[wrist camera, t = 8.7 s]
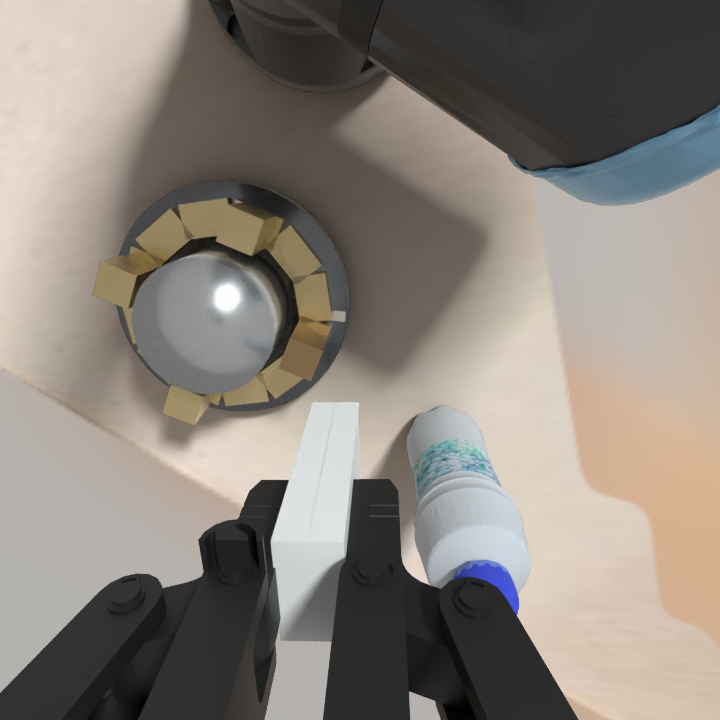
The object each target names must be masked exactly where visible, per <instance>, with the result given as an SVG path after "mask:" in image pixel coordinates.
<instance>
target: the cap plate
mask: <svg viewBox="0 0 720 720" xmlns="http://www.w3.org/2000/svg"><path fill="white" fill-rule="evenodd" d="M223 198H232V202H233V204H234V203H235V200H236V199H242V200H244V201H246V202H249V203H251V204H253V205H256V206H258V207H260V208H263V209H265V210H267V211H270V212H272V213H274V214H277V215H279V216H282V217H284V218H286V220H285V223H284V226H283V229H282V232H283V231H284V230H285V229H286V228H287V227H289V226H290V225H292V224H294V226H295V227H296V228H297V230H298V231H299V232H300V233H301V235H302V236H303V237H304V239H305V240H306V241H307V242H308V244H309V245H310V246H311V248H312V249H313V250H314V251H315V253H316V254H317V255H318V257H319V258H320V259H321V260H322V262H323V264H322V265H321V266H320V267H319V268H318V269H316V270H315V271H314V272H318V271H326V270H327V276H328V283H329V289H330V296H331V303H332V309H333V319H332V320H328V322H330V323H332V327H331V330H330V332H329V335H328V338H327V341H326V344H325V348H324V351H323V353H322V356H321V358H320V361H319V363H318V365H317V368H316V370H315V373H314V375H313V377H312V380H311V381H309V380H306V379H302V380H301V381H300V382H298V383H297V384H296V385H294V386H293V387H291V388H290V389H289V390H287V391H286V392H284V393H283V394H282V395H280V396H279V397H278V398H276V399H275V398H274V396H273V395H272V396H271V398H270V400H269V402H259V403H250V404H241V405H232V406H225V402H224V397H223V399H222V400H221V402H220V403H219V404H218V405H216V404H214V403H211V404H210V405H209V407H213V408H216V409H223V410H229V411H255V410H262V409H267V408H272V407H275V406H278V405H280V404H283V403H286V402H288V401H290V400H292V399H294V398H296V397H298V396H299V395H301V394H302V393H304V392H305V391H307V390H308V389H310V388H311V387H312V386H313V385H314V384H315V383H316V382H317V381H319V380H320V378H321V377H322V376H323V375H324V374H325V373H326V371H327V370H328V369H329V367H330V366H331V364H332V363H333V361H334V359H335V358H336V356H337V354H338V351H339V349H340V347H341V345H342V342H343V338H344V335H345V332H346V327H347V322H348V315H349V301H350V295H349V286H348V279H347V275H346V271H345V267H344V264H343V262H342V259H341V257H340V254H339V252H338V250H337V248H336V246H335V244H334V243H333V241H332V239H331V238H330V236H329V235H328V233H327V232H326V231H325V229H324V228H323V226H322V225H321V224H320V223H319V222H318V221H317V220H316V219H315V218H314V217H313V216H312V215H311V214H310V213H309V212H308V211H307V210H305V209H304V208H303V207H302V206H301V205H299V204H298V203H296V202H295V201H293V200H292V199H290V198H288V197H287V196H285V195H283V194H281V193H279V192H277V191H274V190H272V189H270V188H266V187H263V186H260V185H257V184H252V183H246V182H240V181H210V182H201V183H197V184H193V185H189V186H185V187H183V188H180V189H178V190H176V191H173V192H171V193H169V194H167V195H166V196H164V197H163V198H161V199H159V200H158V201H156V202H155V203H154V204H153V205H152V206H150V207H149V208H148V209H147V210H146V211H145V212H144V213H143V214H142V215H141V216H140V217H139V219H138V220H137V221H136V222H135V224H134V225H133V227H132V228H131V230H130V231H129V233H128V235H127V237H126V239H125V241H124V243H123V246H122V248H121V251H120V254H119V256H122V255H125V254H129V253H130V249H131V246H134V245H138V244H139V243H138V242H137V241H136V240H135V239H136V238H137V237H139V236H140V235H141V234H142V233H143V232H144V231H145V230H146V229H148V228H149V227H150V226H151V225H152V224H153V223H154V222H155V221H157V220H158V219H159V218H160V217H161V216H162V215H163V214H164V213H166V212H167V211H168V210H169V209H170V208H178V210H179V207H178V205H180V204H187V203H194V202H202V201H209V200H216V199H223ZM216 239H217V236H212V237H204V238H197V239H194V240H193V241H192V242H191V243H190V244H188V245H187V246H186V247H185V248H184V249H183V250H181V251H180V252H179V253H178V254H177V255H176V256H174V257H173V258H172V259H171V260H170V261H169V262H168V264H166V265H164V266H162V267H160V268H159V269H157V270H156V271H154V272H153V273H152V274H151V275H150V276H149V277H148V278H147V279H146V280H145V281H144V283H143V284H142V285H141V287H140V288H139V291H138V293H137V295H136V297H135V300H134V304H133V309H132V329H133V334H134V338H135V341H136V343H134V344H133V342H132V339H131V335H130V332H129V328H128V325H127V321H126V318H125V314H124V311H123V308H122V307H121V306H118V305H117V310H118V314H119V318H120V321H121V324H122V327H123V329H124V332H125V334H126V337H127V339H128V340H129V342H130V344H131V346H132V348H133V350H134V351H135V352H136V354H137V355H138V357H139V358H140V359H141V361H142V362H143V363H144V365H145V366H146V367H147V368H148V369H149V370H150V371H151V372H152V373H153V374H154V375H155V376H156V377H157V378H158V379H159V380H160V381H162V382H163V383H164V384H165V385H167V386H168V387H170V386H171V384H172V385H174V386H176V387H178V388H181V389H183V390H186V391H189V392H193V393H198V394H209V395H212V394H222V393H227V392H230V391H233V390H236V389H238V388H240V387H242V386H244V385H245V384H247V383H248V382H250V381H251V380H252V379H253V378H254V377H255V376H256V375H257V374H258V373H259V372H260V370H261V369H262V368H263V367H265V366H266V365H267V364H269V363H270V362H271V361H273V360H274V359H275V358H277V357H278V356H279V355H281V354H282V353H283V352H285V350H286V347H287V344H288V342H289V339H290V337H291V335H292V333H293V331H294V330H295V328H296V326H297V324H298V322H299V320H300V318H299V312H298V307H297V301H296V295H295V289H294V284H293V281H292V280H291V278H290V277H289V276H288V275H287V273H286V272H285V271H284V270H283V268H282V267H281V266H280V265H279V264H278V262H277V261H276V260H275V259H274V257H273V256H272V255H271V254H270V252H269V251H268V250H266V249H263V250H262V251H260V252H258V253H256V254H255V255H253V256H250V255H247V254H245V253H243V252H240V251H238V250H235V249H233V248H231V247H228V246H226V245H223V244H221V243H219V242H216ZM139 245H140V244H139ZM138 349H139V351H140V352H141V354H142V355H141V354H140V353H139V352H138V351H137V350H138ZM165 380H166V381H167V382H169V383H170V384H168V383H167V382H166V381H165Z"/></svg>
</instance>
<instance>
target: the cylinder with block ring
mask: <svg viewBox="0 0 720 720" xmlns="http://www.w3.org/2000/svg"><path fill="white" fill-rule="evenodd" d="M178 207H179V210H178V208H170V209H169V210H168V211H167V212H166V213H164V214H163V215H162V216H161V217H160V218H159V219H158V220H157V221H155V222H154V223H153V224H152V225H151V226H150V227H149V228H148V229H146V230H145V231H144V232H143V233H142V234H141V235H140V236H139V237H137V238H136V239H135V240H136V241H137V242H138V243H139V244H140V245H139V244H138V245H134V246H131V249H130V253H129V254H125V255H122V256H118V257H115V258H111V259H107V260H104V261H101V262H100V266H99V270H98V274H97V279H96V283H95V287H94V291H93V296H95V297H98V298H101V299H103V300H106V301H108V302H111V303H113V304H116V305H118V306H121V307H122V308H123V311H124V314H125V318H126V321H127V325H128V328H129V332H130V335H131V339H132V342H133V344H134V343H136V341H135V338H134V334H133V329H132V309H133V304H134V300H135V297H136V295H137V293H138V291H139V288H140V287H141V285H142V284H143V283H144V281H145V280H146V279H147V278H148V277H149V276H150V275H151V274H152V273H153V272H154V271H156V270H157V269H159V268H160V267H162V266H164V265H166V264H168V262H169V261H170V260H171V259H172V258H173V257H174V256H176V255H177V254H178V253H179V252H180V251H181V250H183V249H184V248H185V247H186V246H187V245H188V244H190V243H191V242H192V241H193V240H194V239H197V238H204V237H212V236H217V239H216V242H219V243H221V244H223V245H226V246H228V247H231V248H233V249H235V250H238V251H240V252H243V253H245V254H247V255H250V256H253V255H255V254H256V253H258V252H260V251H262V250H263V249H266V250H268V251H269V252H270V254H271V255H272V256H273V257H274V259H275V260H276V261H277V262H278V264H279V265H280V266H281V267H282V268H283V270H284V271H285V272H286V273H287V275H288V276H289V277H290V278H291V280H292V281H293V284H294V289H295V295H296V301H297V307H298V312H299V318H300V320H299V322H298V324H297V326H296V328H295V330H294V331H293V333H292V335H291V337H290V339H289V342H288V344H287V347H286V350H285V352H283V353H282V354H281V355H279V356H278V357H277V358H275V359H274V360H273V361H271V362H270V363H269V364H267V365H266V366H265V367H263V368H262V369H261V370H260V372H259V373H258V374H257V375H256V376H255V377H254V378H253V379H252V380H251V381H250V382H248V383H247V384H245V385H244V386H242V387H240V388H238V389H236V390H233V391H230V392H227V393H222V394H212V395H209V394H198V393H193V392H189V391H186V390H183V389H181V388H178V387H176V386H174V385H172V384H171V386H170V389H169V393H168V396H167V399H166V402H165V405H164V409H163V412H162V414H165V415H167V416H170V417H173V418H175V419H178V420H181V421H183V422H186V423H189V424H191V425H195V424H196V422H197V421H198V420H199V418H200V417H201V416H202V415H203V413H204V412H205V411H206V409H207V408H208V407H209V405H210V404H211V403H214V404H216V405H218V404H219V403H220V402H221V400H222V399H223V397H224V402H225V406H232V405H241V404H250V403H259V402H269V400H270V398H271V396H272V395H273V396H274V398H275V399H276V398H278V397H279V396H280V395H282V394H283V393H284V392H286V391H287V390H289V389H290V388H291V387H293V386H294V385H296V384H297V383H298V382H300V381H301V380H302V379H306V380H309V381H311V380H312V377H313V375H314V373H315V370H316V368H317V365H318V363H319V361H320V358H321V356H322V353H323V351H324V348H325V344H326V341H327V338H328V335H329V332H330V330H331V327H332V323H330V322H328V320H332V319H333V309H332V303H331V296H330V289H329V283H328V276H327V270H326V271H318V272H314V271H315V270H316V269H318V268H319V267H320V266H321V265H322V264H323V262H322V260H321V259H320V258H319V257H318V255H317V254H316V253H315V251H314V250H313V249H312V248H311V246H310V245H309V244H308V242H307V241H306V240H305V239H304V237H303V236H302V235H301V233H300V232H299V231H298V230H297V228H296V227H295V226H294V224H292V225H290V226H289V227H287V228H286V229H285V230H284V231H283V232H282V229H283V226H284V223H285V220H286V218H284V217H282V216H279V215H277V214H274V213H272V212H270V211H267V210H265V209H263V208H260V207H258V206H256V205H253V204H251V203H249V202H246V201H244V200H242V199H236V200H235V203H234V204H233V202H232V198H223V199H216V200H209V201H202V202H194V203H187V204H180V205H178ZM137 351H138V352H139V353H140V354H141V352H140V351H139V349H138V350H137ZM141 355H142V354H141ZM165 381H166V380H165ZM166 382H167V381H166ZM167 383H168V384H170V383H169V382H167Z"/></svg>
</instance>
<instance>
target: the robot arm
mask: <svg viewBox="0 0 720 720" xmlns="http://www.w3.org/2000/svg"><path fill="white" fill-rule="evenodd" d="M208 3H209V5H210V8H211V10H212V12H213V14H214V16H215V18H216V20H217V21H218V23H219V25H220V27H221V28H222V30H223V31H224V33H225V34H226V36H227V37H228V38H229V40H230V41H231V42H232V43H233V45H234V46H235V47H236V48H237V49H238V50H239V51H240V52H241V53H242V54H243V55H244V56H245V57H246V58H247V59H248V60H249V61H250V62H251V63H252V64H253V65H254V66H255V67H256V68H258V69H259V70H260V71H262V72H263V73H264V74H266V75H267V76H269V77H271V78H272V79H274V80H276V81H278V82H280V83H282V84H284V85H287V86H289V87H292V88H296V89H299V90H304V91H310V92H335V91H341V90H346V89H349V88H353V87H355V86H358V85H361V84H363V83H365V82H367V81H369V80H371V79H372V78H374V77H376V76H377V75H379V74H380V73H382V72H383V71H386V72H387V73H388V74H390V75H391V76H393V77H394V78H396V79H397V80H399V81H400V82H402V83H403V84H405V85H406V86H408V87H409V88H411V89H412V90H413V91H415V92H416V93H418V94H419V95H421V96H422V97H424V98H425V99H427V100H428V101H430V102H431V103H433V104H434V105H436V106H437V107H438V108H440V109H441V110H443V111H444V112H446V113H447V114H449V115H450V116H452V117H453V118H455V119H456V120H458V121H459V122H461V123H462V124H463V125H465V126H466V127H468V128H469V129H471V130H472V131H474V132H475V133H477V134H478V135H480V136H481V137H483V138H484V139H486V140H487V141H488V142H490V143H491V144H493V145H494V146H496V147H497V148H499V149H500V150H502V151H503V152H505V153H506V154H508V158H509V160H510V161H511V162H512V163H513V165H514V166H515V167H517V168H518V169H519V170H521V171H522V172H524V173H526V174H527V173H529V174H531V175H533V176H535V177H539V178H544V179H545V180H547V181H548V182H550V183H552V184H554V185H555V186H557V187H558V188H560V189H562V190H563V191H565V192H567V193H568V194H570V195H571V196H573V197H575V198H577V199H579V200H581V201H584V202H589V203H593V204H597V205H607V206H618V205H626V204H634V203H639V202H643V201H647V200H651V199H654V198H657V197H660V196H662V195H665V194H668V193H671V192H673V191H675V190H678V189H680V188H682V187H685V186H687V185H689V184H691V183H693V182H695V181H697V180H699V179H701V178H703V177H705V176H707V175H709V174H710V173H712V172H714V171H716V170H717V169H719V168H720V0H208ZM199 546H200V552H201V558H202V564H203V570H204V572H203V575H202V577H200V578H198V579H196V580H193V581H190V582H187V583H183V584H179V585H175V586H171V587H166V588H162V585H161V583H160V582H159V580H158V579H157V578H156V577H153V576H151V575H149V574H133V575H129V576H124V577H122V578H120V579H118V580H116V581H113V582H111V583H110V584H109V585H107V586H106V587H105V588H103V589H102V590H101V591H100V592H99V593H98V594H97V595H96V596H95V597H94V598H93V599H92V600H91V601H90V602H89V603H88V604H87V605H86V606H85V607H84V608H83V609H82V610H81V611H80V612H79V613H78V614H77V615H76V616H75V617H74V618H73V619H72V620H71V621H70V622H69V623H68V624H67V625H66V626H65V627H64V628H63V629H62V630H61V631H60V632H59V634H58V635H57V636H56V637H55V638H54V639H53V640H52V641H51V642H50V643H49V644H48V645H47V646H46V647H45V648H44V649H43V650H42V651H41V652H40V653H39V654H38V655H37V656H36V657H35V658H34V659H33V660H32V661H31V662H30V663H29V664H28V665H27V666H26V667H25V668H24V669H23V670H22V671H21V672H20V673H19V674H18V676H16V677H15V679H13V681H12V682H11V683H10V684H9V685H8V686H7V687H6V688H5V689H4V690H3V691H2V692H1V693H0V720H264V719H265V714H266V710H267V705H268V700H269V695H270V690H271V686H272V682H273V677H274V672H275V668H276V648H275V641H276V637H277V633H278V628H279V627H280V635H281V640H284V641H287V640H288V641H331V642H332V644H331V652H330V661H329V670H328V679H327V688H326V697H325V706H324V715H323V720H410V707H409V691H410V692H413V693H416V694H418V695H421V696H424V697H427V698H429V699H432V700H434V701H436V706H437V709H438V712H439V715H440V718H441V720H578V718H577V716H576V715H575V713H574V711H573V710H572V708H571V707H570V705H569V703H568V701H567V700H566V698H565V696H564V695H563V693H562V691H561V689H560V688H559V686H558V684H557V683H556V681H555V679H554V678H553V676H552V674H551V673H550V671H549V669H548V668H547V666H546V664H545V663H544V661H543V659H542V657H541V656H540V654H539V652H538V651H537V649H536V647H535V646H534V644H533V642H532V641H531V639H530V637H529V636H528V634H527V632H526V631H525V629H524V627H523V625H522V624H521V622H520V620H519V619H518V617H517V615H516V614H515V612H514V610H513V609H512V607H511V605H510V604H509V602H508V600H507V598H506V597H505V596H504V594H503V593H502V592H501V591H500V590H499V589H498V588H497V587H496V586H494V585H493V584H491V583H489V582H488V581H486V580H483V579H479V578H475V577H459V578H456V579H453V580H451V581H449V582H448V583H447V584H446V585H445V586H443V587H442V589H441V588H438V587H434V586H431V585H428V584H425V583H423V582H420V581H419V580H417V579H416V578H414V577H412V576H411V575H410V573H409V572H408V571H407V570H406V569H405V567H404V565H403V563H402V558H401V541H400V521H399V500H398V490H397V489H396V487H395V486H394V484H393V483H392V482H391V480H390V479H360V437H359V402H313V403H312V406H311V410H310V413H309V416H308V419H307V423H306V426H305V429H304V433H303V436H302V439H301V443H300V446H299V449H298V452H297V456H296V459H295V462H294V466H293V469H292V472H291V475H290V479H289V480H261V481H260V482H259V483H258V484H257V485H256V486H255V487H253V488H252V489H251V490H250V491H249V494H248V496H247V498H246V501H245V503H244V507H243V508H242V510H241V513H240V517H239V518H238V519H237V520H228V521H225V522H222V523H219V524H216V525H214V526H213V527H211V528H210V529H208V530H207V531H205V532H204V533H203V535H202V536H201V537H200V539H199Z"/></svg>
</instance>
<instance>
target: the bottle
mask: <svg viewBox="0 0 720 720" xmlns="http://www.w3.org/2000/svg"><path fill="white" fill-rule="evenodd" d="M407 453H408V458H409V462H410V466H411V469H412V473H413V480H414V487H415V494H416V502H417V509H416V513H415V518H414V526H415V542H416V547H417V549H418V552H419V554H420V557H421V560H422V563H423V566H424V569H425V572H426V575H427V579H428V582H429V584H430V585H431V586H434V587H438V588H441V589H442V587H443V586H445V585H446V584H447V583H448V582H449V581H451V580H453V579H456V578H459V577H475V578H479V579H483V580H486V581H488V582H489V583H491V584H493V585H494V586H496V587H497V588H498V589H499V590H500V591H501V592H502V593H503V594H504V596H505V597H506V598H507V600H508V602H509V604H510V605H511V607H512V609H513V610H514V612H515V614H516V615H517V614H518V609H519V597H518V593H519V592H520V591H521V589H522V588H523V587H524V586H525V584H526V582H527V580H528V577H529V573H530V569H531V559H530V555H529V550H528V546H527V541H526V537H525V532H524V526H523V520H522V517H521V515H520V513H519V511H518V510H517V508H516V507H515V504H514V502H513V500H512V498H511V497H510V496H509V494H508V493H507V492H506V491H505V490H504V489H502V487H501V485H500V483H499V480H498V478H497V476H496V473H495V471H494V469H493V466H492V464H491V462H490V459H489V457H488V454H487V450H486V446H485V442H484V439H483V436H482V434H481V431H480V430H479V428H478V426H477V424H476V423H475V421H474V420H473V419H472V417H471V416H469V415H468V414H467V413H465V412H461V411H458V410H455V409H453V408H450V407H449V406H446V405H440V406H438V407H437V408H436V409H434V410H432V411H429V412H426V413H424V412H422V413H420V414H419V415H418V416H417V417H416V418H415V421H414V423H413V425H412V427H411V429H410V431H409V433H408V436H407Z"/></svg>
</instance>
